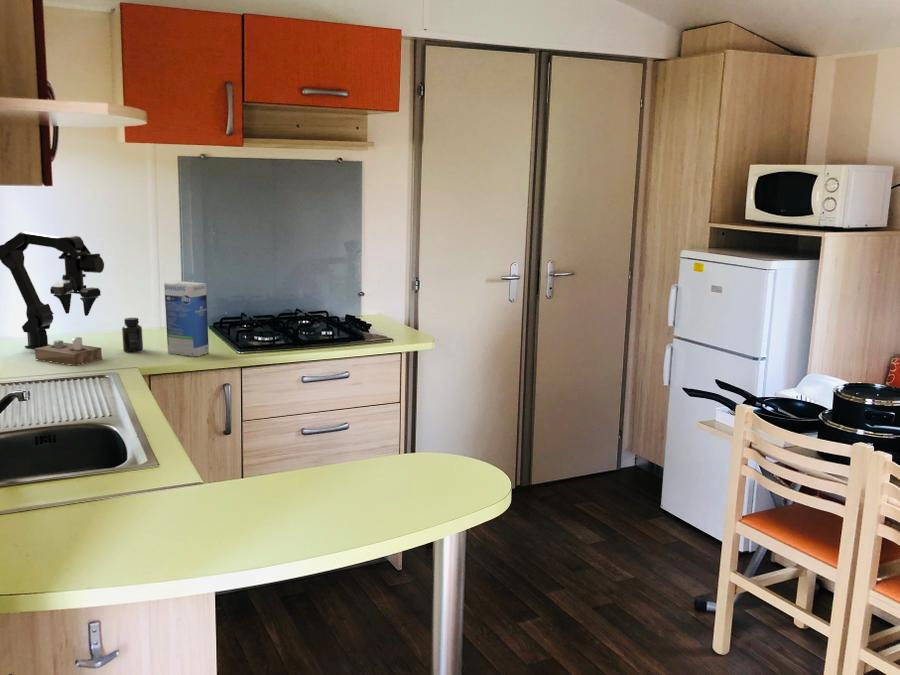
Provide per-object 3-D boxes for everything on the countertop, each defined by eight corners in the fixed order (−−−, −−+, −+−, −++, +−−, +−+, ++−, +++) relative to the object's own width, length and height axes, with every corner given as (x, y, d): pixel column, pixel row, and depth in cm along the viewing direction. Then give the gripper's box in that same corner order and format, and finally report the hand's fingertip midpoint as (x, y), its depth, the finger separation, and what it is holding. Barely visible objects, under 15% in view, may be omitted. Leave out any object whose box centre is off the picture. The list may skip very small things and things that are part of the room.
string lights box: (209, 353, 314) (207, 283, 308) (196, 357, 307) (193, 285, 302) (180, 349, 319) (177, 280, 313) (166, 353, 312) (163, 282, 306)
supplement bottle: (146, 349, 318) (144, 317, 316) (138, 353, 311) (136, 320, 309) (128, 348, 319) (126, 316, 316) (119, 352, 312) (118, 319, 310)
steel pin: (72, 361, 297) (70, 338, 296) (78, 359, 300) (77, 337, 298) (78, 362, 296) (77, 339, 294) (85, 360, 299) (83, 337, 297)
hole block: (74, 365, 291) (73, 354, 290) (35, 359, 298) (34, 348, 297) (101, 358, 302) (101, 347, 301) (63, 353, 308) (62, 342, 308)
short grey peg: (52, 358, 301) (51, 341, 299) (59, 356, 303) (58, 340, 302) (59, 359, 299) (58, 342, 298) (66, 357, 302) (64, 340, 301)
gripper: (36, 272, 305) (39, 315, 309) (75, 276, 298) (78, 320, 301) (61, 268, 315) (64, 311, 319) (100, 272, 308) (102, 315, 311)
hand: (76, 314), depth 312 cm, fingers open, 9 cm apart
